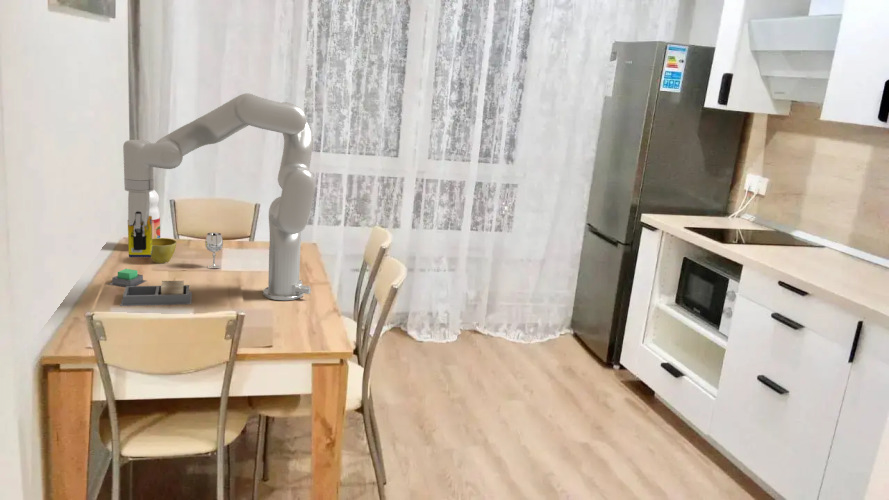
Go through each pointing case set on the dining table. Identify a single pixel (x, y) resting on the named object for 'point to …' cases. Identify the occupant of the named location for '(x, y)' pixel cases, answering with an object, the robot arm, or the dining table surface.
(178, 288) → the block
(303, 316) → the dining table surface
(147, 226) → the supplement box
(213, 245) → the wineglass
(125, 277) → the button
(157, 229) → the fruit juice
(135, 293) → the divided grey tray
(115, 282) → the button housing
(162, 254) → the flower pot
